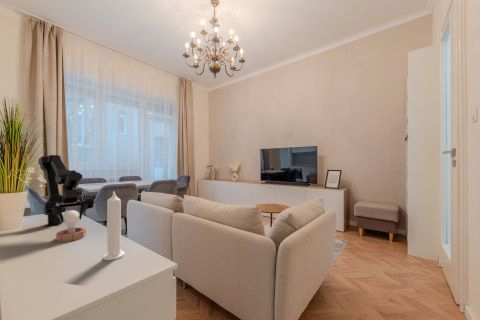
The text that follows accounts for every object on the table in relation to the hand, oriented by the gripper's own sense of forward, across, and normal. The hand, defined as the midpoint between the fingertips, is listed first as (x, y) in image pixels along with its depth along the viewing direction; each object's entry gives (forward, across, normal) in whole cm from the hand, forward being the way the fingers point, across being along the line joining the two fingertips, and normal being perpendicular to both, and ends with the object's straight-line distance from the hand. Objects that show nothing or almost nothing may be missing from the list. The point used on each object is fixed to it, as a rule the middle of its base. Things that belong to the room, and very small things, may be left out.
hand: (71, 220), depth 103 cm
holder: (+5, 0, +7) cm, 8 cm away
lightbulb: (+4, 0, +6) cm, 7 cm away
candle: (+29, +11, -18) cm, 36 cm away
